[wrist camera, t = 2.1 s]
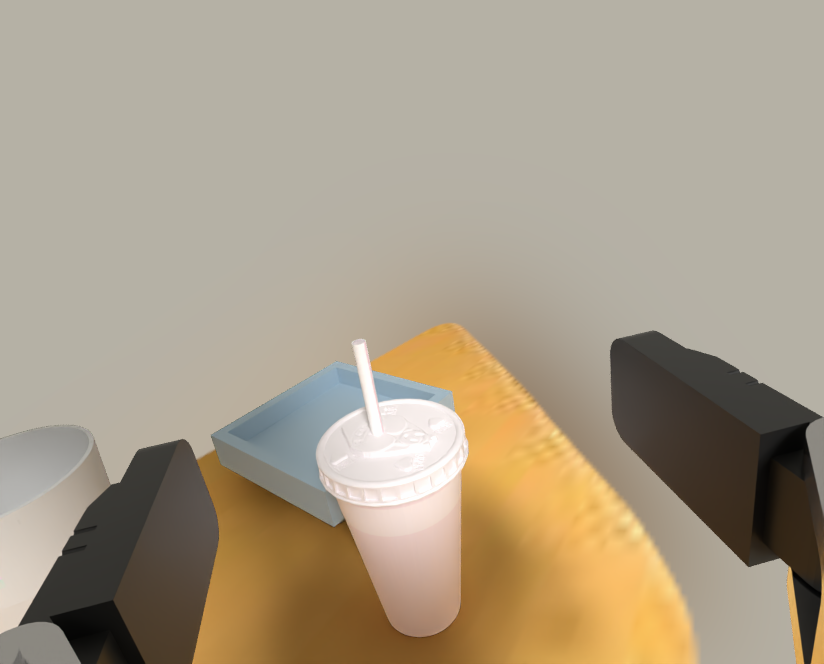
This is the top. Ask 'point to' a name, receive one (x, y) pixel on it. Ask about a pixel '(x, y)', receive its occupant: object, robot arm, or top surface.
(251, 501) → the top surface
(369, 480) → the smoothie
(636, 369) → the robot arm
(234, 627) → the top surface
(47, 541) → the cup
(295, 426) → the square pastel tray
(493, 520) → the top surface
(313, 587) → the top surface
